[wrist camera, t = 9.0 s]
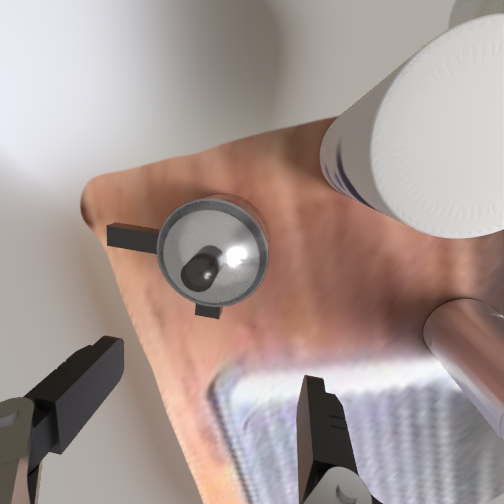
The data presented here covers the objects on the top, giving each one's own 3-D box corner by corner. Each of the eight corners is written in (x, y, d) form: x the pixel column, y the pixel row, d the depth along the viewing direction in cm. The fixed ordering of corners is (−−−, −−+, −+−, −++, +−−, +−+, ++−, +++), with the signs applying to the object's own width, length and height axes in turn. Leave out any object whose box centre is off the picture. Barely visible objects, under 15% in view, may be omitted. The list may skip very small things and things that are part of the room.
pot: (278, 200, 35) (277, 208, 28) (260, 302, 39) (256, 330, 33) (134, 177, 36) (100, 181, 29) (133, 279, 40) (104, 302, 34)
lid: (267, 218, 29) (263, 231, 23) (252, 307, 32) (245, 336, 26) (169, 201, 29) (142, 209, 24) (163, 290, 32) (139, 316, 27)
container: (305, 177, 34) (334, 194, 15) (344, 90, 31) (448, -31, 12) (380, 209, 34) (505, 268, 15) (427, 126, 31) (661, 66, 12)
